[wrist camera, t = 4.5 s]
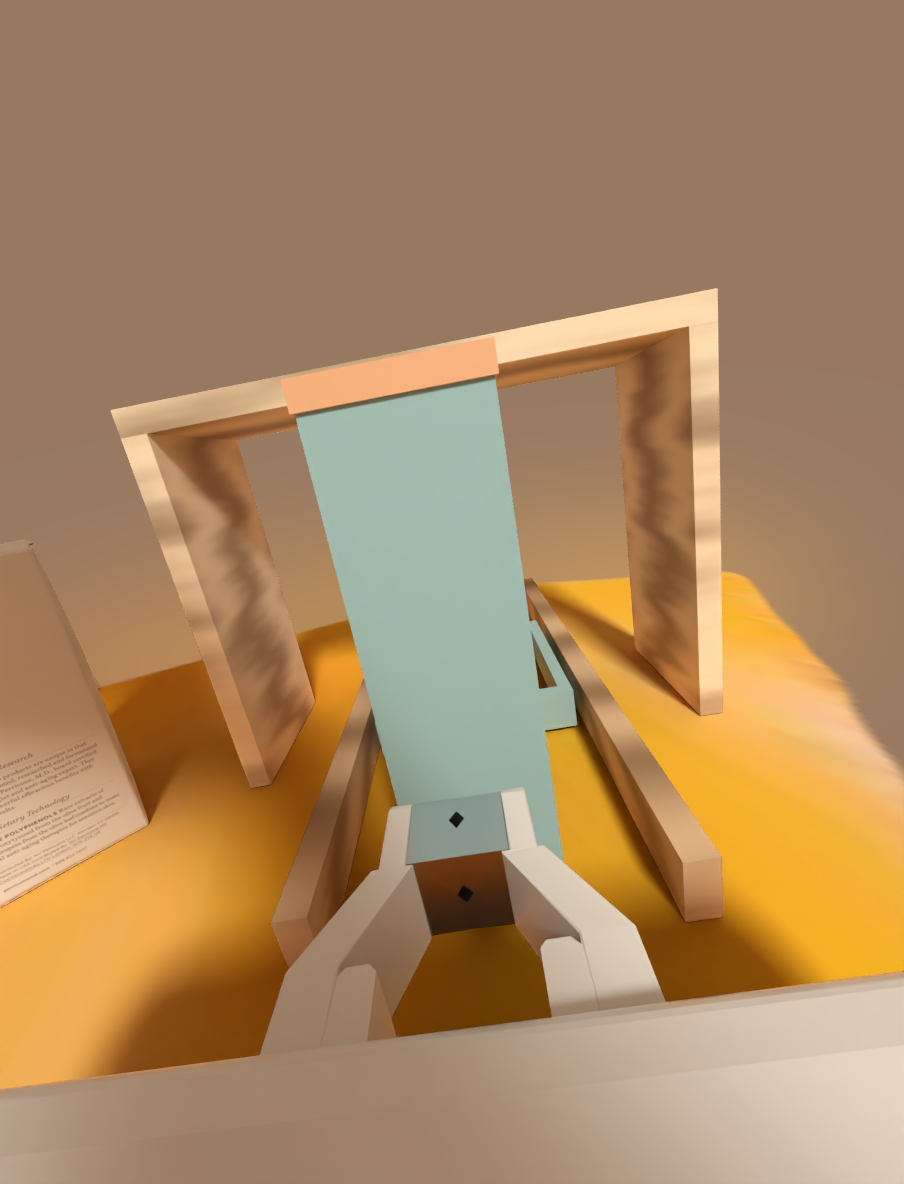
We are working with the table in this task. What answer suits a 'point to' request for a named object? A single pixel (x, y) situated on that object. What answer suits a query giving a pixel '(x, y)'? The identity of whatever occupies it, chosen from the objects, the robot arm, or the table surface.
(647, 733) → the table surface
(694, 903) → the tunnel
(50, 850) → the skincare box
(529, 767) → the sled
